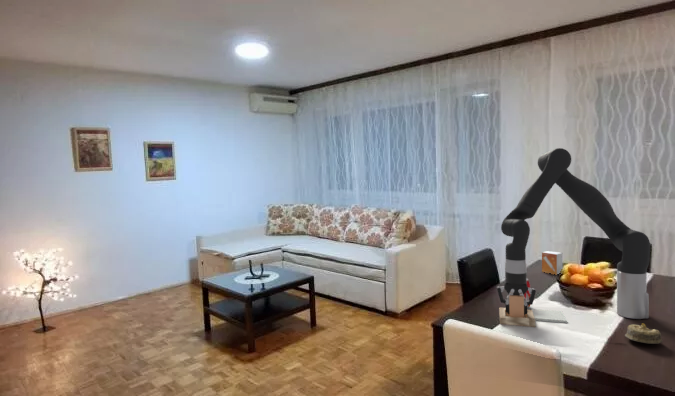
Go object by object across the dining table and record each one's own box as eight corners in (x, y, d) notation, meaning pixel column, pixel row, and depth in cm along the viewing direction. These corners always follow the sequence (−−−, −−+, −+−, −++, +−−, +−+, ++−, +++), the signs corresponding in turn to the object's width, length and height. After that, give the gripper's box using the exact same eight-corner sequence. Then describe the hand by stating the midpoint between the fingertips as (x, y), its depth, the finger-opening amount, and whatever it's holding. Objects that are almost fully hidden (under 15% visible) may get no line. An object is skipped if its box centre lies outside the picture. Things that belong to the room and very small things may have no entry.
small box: (541, 276, 217) (541, 252, 217) (547, 274, 221) (547, 250, 220) (557, 278, 211) (556, 254, 210) (562, 276, 214) (562, 252, 214)
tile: (562, 313, 161) (562, 311, 161) (567, 322, 151) (567, 320, 150) (531, 310, 165) (531, 308, 165) (534, 320, 154) (534, 318, 154)
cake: (656, 348, 127) (656, 332, 127) (620, 339, 135) (620, 323, 135) (666, 340, 133) (667, 324, 133) (631, 331, 141) (631, 316, 141)
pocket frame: (532, 316, 159) (531, 309, 159) (535, 327, 148) (535, 320, 147) (499, 313, 163) (499, 307, 163) (500, 324, 152) (500, 317, 152)
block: (523, 318, 157) (522, 293, 156) (524, 322, 152) (523, 296, 152) (509, 317, 158) (508, 292, 158) (509, 321, 154) (509, 296, 153)
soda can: (532, 309, 166) (532, 281, 165) (514, 309, 167) (514, 280, 167) (528, 304, 173) (527, 276, 172) (510, 303, 174) (510, 276, 174)
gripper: (535, 269, 155) (535, 312, 156) (495, 267, 160) (496, 309, 161) (537, 273, 148) (538, 319, 149) (495, 271, 153) (496, 315, 154)
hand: (516, 313), depth 155 cm, fingers closed on block, 5 cm apart
